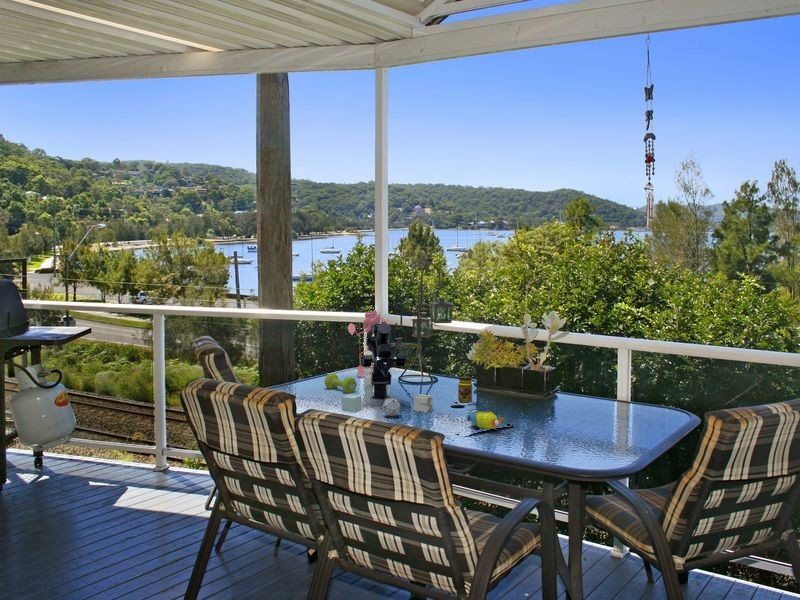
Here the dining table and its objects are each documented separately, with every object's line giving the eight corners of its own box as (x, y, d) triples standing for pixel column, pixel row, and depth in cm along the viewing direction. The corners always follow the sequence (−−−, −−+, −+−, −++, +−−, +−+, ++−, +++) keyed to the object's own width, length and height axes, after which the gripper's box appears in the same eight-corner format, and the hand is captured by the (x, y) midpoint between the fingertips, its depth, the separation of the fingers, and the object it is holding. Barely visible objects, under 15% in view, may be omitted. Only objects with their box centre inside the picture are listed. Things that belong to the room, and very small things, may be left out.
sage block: (349, 407, 325) (349, 394, 324) (361, 409, 322) (361, 395, 321) (341, 410, 319) (341, 397, 319) (354, 412, 317) (354, 398, 316)
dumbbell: (358, 392, 356) (358, 377, 355) (345, 394, 350) (345, 379, 350) (335, 386, 367) (335, 372, 367) (322, 389, 362) (322, 374, 361)
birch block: (419, 408, 325) (419, 394, 325) (432, 409, 323) (432, 395, 322) (413, 411, 320) (413, 397, 319) (426, 412, 317) (426, 398, 317)
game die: (394, 426, 309) (399, 410, 302) (375, 418, 310) (380, 402, 304) (402, 411, 316) (407, 396, 309) (383, 403, 317) (388, 387, 310)
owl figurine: (469, 417, 276) (444, 410, 288) (469, 441, 277) (444, 432, 289) (525, 407, 292) (498, 401, 304) (525, 429, 292) (498, 422, 305)
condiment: (461, 406, 329) (461, 379, 328) (452, 401, 337) (453, 375, 335) (476, 404, 332) (476, 377, 330) (467, 400, 339) (467, 374, 338)
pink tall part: (343, 378, 387) (344, 310, 384) (380, 371, 405) (381, 307, 401) (363, 383, 377) (364, 313, 373) (400, 376, 394) (401, 310, 391)
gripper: (363, 336, 325) (365, 366, 316) (405, 336, 328) (409, 365, 318) (361, 351, 334) (363, 381, 324) (403, 351, 337) (406, 380, 327)
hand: (386, 376), depth 323 cm, fingers closed
